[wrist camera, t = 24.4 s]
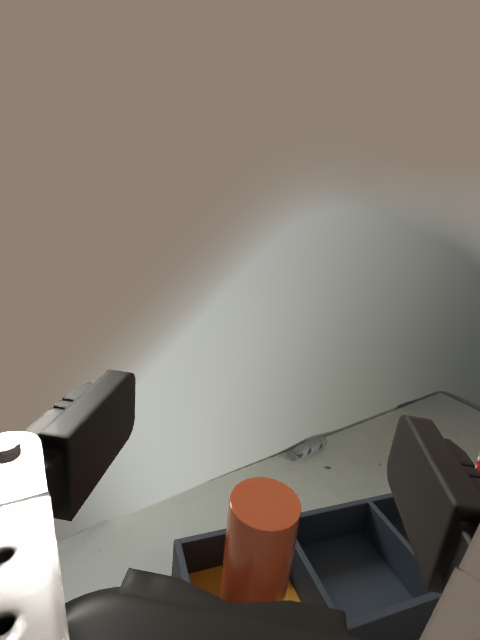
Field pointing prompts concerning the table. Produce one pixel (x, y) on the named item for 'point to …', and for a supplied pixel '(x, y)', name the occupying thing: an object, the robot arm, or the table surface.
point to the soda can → (478, 463)
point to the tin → (259, 541)
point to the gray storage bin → (338, 568)
